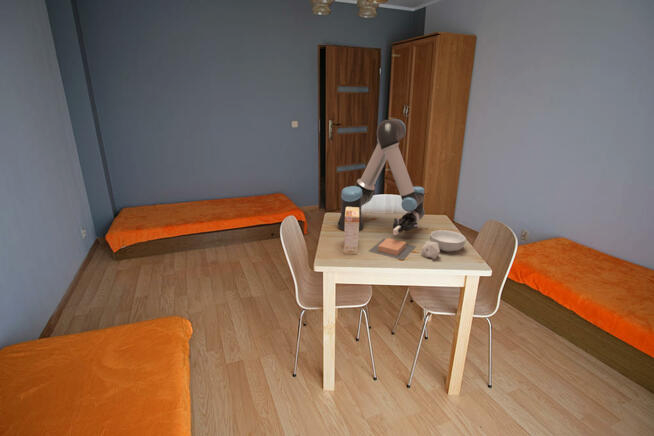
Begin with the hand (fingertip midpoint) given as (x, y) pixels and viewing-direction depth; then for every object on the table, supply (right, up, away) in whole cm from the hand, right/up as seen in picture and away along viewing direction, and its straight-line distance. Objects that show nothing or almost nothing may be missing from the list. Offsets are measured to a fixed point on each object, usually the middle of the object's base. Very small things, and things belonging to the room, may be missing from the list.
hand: (394, 232), depth 170 cm
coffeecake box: (-21, -8, +6) cm, 23 cm away
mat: (0, -9, +4) cm, 10 cm away
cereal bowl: (+28, -9, +7) cm, 30 cm away
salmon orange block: (+2, -6, +7) cm, 9 cm away
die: (+16, -12, -3) cm, 21 cm away
